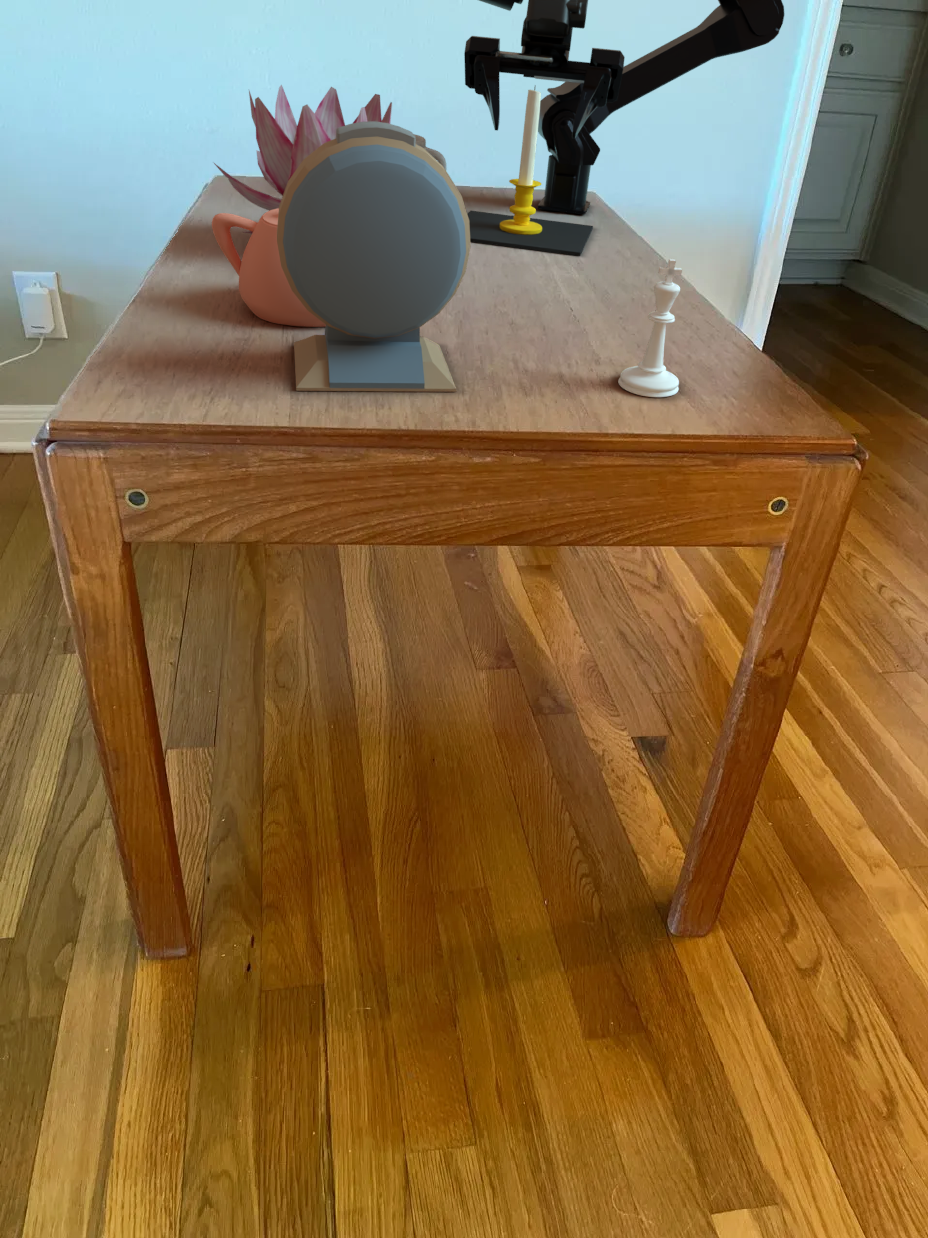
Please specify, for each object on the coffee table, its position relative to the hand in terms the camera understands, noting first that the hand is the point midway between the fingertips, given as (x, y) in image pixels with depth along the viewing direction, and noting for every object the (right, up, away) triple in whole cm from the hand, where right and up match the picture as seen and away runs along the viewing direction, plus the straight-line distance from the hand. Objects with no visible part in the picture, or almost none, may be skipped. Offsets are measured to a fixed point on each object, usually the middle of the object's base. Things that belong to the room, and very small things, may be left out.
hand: (535, 131), depth 112 cm
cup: (-16, -4, +12) cm, 21 cm away
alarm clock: (-16, -37, -35) cm, 54 cm away
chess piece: (+7, -39, -34) cm, 52 cm away
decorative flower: (-24, -18, -8) cm, 31 cm away
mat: (-1, -10, +4) cm, 11 cm away
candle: (-1, -10, +4) cm, 11 cm away
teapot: (-22, -29, -24) cm, 44 cm away
